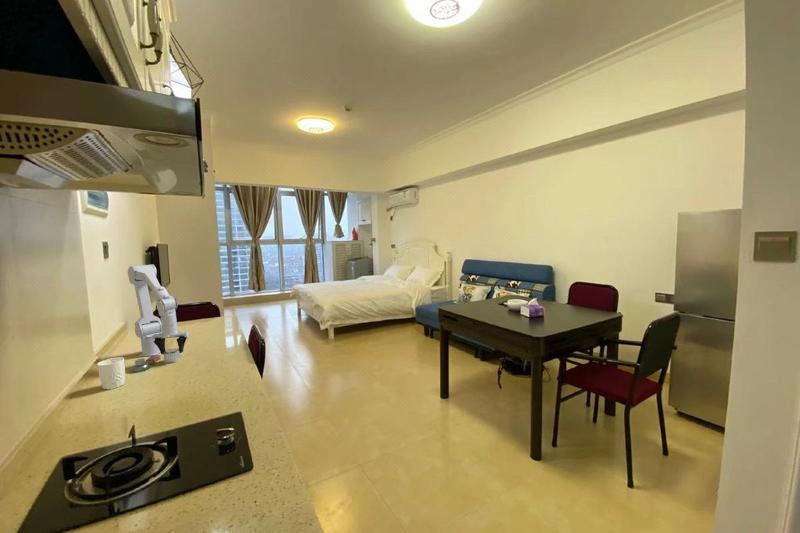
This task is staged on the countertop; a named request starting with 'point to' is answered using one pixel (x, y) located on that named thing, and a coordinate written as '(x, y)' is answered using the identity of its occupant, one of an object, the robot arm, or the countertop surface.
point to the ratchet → (144, 364)
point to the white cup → (112, 373)
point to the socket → (172, 355)
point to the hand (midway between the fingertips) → (172, 352)
